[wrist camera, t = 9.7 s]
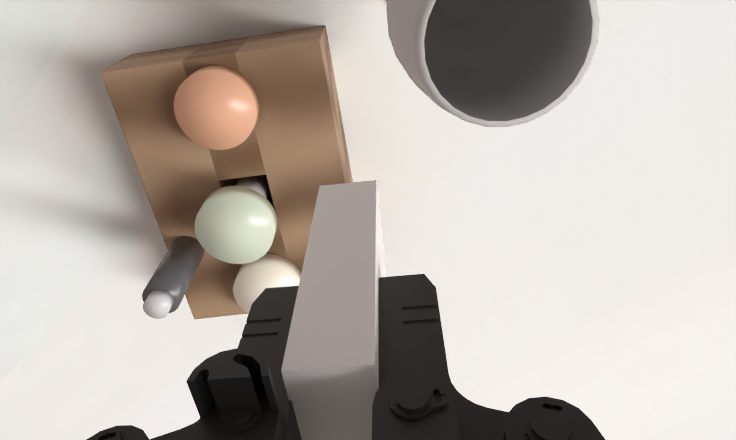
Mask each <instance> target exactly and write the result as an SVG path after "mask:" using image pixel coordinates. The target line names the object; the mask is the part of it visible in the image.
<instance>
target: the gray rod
mask: <svg viewBox="0 0 736 440" xmlns="http://www.w3.org/2000/svg"><path fill="white" fill-rule="evenodd" d="M203 256H204V248H203V247H202V246H201V244H200V243H199V241H198V240H197V239H196V238H194V237H191V236H181V237H178V238H176V239H175V240H174V242H173V243H172V245H171V246H170V248H169V250H168V251H167V253H166V255H165V256H164V258H163V260H162V261H161V263H160V265H159V266H158V268H157V270H156V271H155V273H154V275H153V276H152V278H151V280H150V281H149V283H148V285H147V286H146V288H145V290H144V291H143V295H142V297H143V301H144V304H143V309H144V311H145V313H146V314H147V315H149V316H150V317H153V318H158V319H159V318H164V317H165V316H167V314H168V313H171V312H173V311H175V310H176V309H177V308H178V307H179V305H180V303H181V301H182V299H183V297H184V294H185V292H186V290H187V288H188V286H189V284H190V282H191V280H192V278H193V276H194V274H195V272H196V270H197V268H198V266H199V264H200V262H201V260H202V258H203Z"/></svg>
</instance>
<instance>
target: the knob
mask: <svg viewBox="0 0 736 440" xmlns="http://www.w3.org/2000/svg"><path fill="white" fill-rule="evenodd" d="M300 278H301V273H300V271H299V269H298V268H297V267H296V266H295V265H294V264H293V263H292V262H291V261H289V260H288V258H287V259H286V258H284V257H282V256H279V255H274V254H265V255H264V256H263V257H261V258H260V259H258V260H256V261H254V262H250V263H246V264H242V266H241V267H240V269H239V271H238V274H237V277H236V279H235V282H234V286H233V294H234V298H235V300H236V302H237V304H238V305H239V306H240V307H241V308H242V309H243V310H244V311H245V312H247V313H248V314H249V311H250V308H251V305H252V303H253V302H254V301H255V300H256V299H257V297H258V296H259V295H260V294H261V293H262V292H263V291H264V290H265V288H275V287H288V286H299V282H300Z"/></svg>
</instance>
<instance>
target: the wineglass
mask: <svg viewBox="0 0 736 440" xmlns="http://www.w3.org/2000/svg"><path fill="white" fill-rule="evenodd" d="M387 20H388V31H389V37H390V40H391V43H392V46H393V49H394V51H395V54H396V57H397V58H398V60H399V61H400V63H401V64H402V66H403V67H404V69H405V71H406V72H407V74H408V75H409V77H410V78H411V79H412V81H413V82H414V83H415V84H416V85H417V86H418V87H419V88H420V89H421V90H422V91H423V92H424V93H425V94H426V95H427V96H428V97H429V98H430V99H431V100H433V101H434V102H435V103H436V104H437V105H438V106H440V107H441V108H443V109H444V110H446V111H448V112H449V113H451V114H453V115H455V116H457V117H459V118H460V119H462V120H464V121H467V122H470V123H474V124H478V125H482V126H486V127H508V126H513V125H517V124H522V123H527V122H529V121H531V120H533V119H535V118H538V117H540V116H542V115H544V114H546V113H548V112H549V111H550V110H552V109H553V108H554V107H556V106H557V105H559V104H560V103H561V102H563V101H564V100H565V99H566V98H567V97H568V95H569V94H570V93H571V92H572V91H573V90H574V89H575V88H576V87H577V85H578V84H579V83H580V81H581V79H582V78H583V76H584V74H585V73H586V71H587V69H588V67H589V66H590V64H591V61H592V58H593V55H594V51H595V48H596V45H597V42H598V30H599V14H598V7H597V1H596V0H388V1H387Z"/></svg>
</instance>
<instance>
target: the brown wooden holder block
mask: <svg viewBox="0 0 736 440" xmlns="http://www.w3.org/2000/svg"><path fill="white" fill-rule="evenodd" d="M214 65H216V66H224V67H228V68H231V69H233V70H235V71H237V72H238V73H240V74H241V75H243V76H244V77H245V78H246V79H247V80H248V81H249V82H250V83H251V85H252V86H253V88H254V89H255V91H256V94H257V96H258V100H259V108H260V110H259V117H258V120H257V123H256V125H255V126H254V128H253V130H252V132H251V134H250V135H249V137H248V138H247V139H246V140H245V141H244V142H243V143H241V144H240V145H238V146H236V147H234V148H231V149H226V150H214V149H209V148H206V147H203V146H201V145H199V144H197V143H195V142H194V141H193V140H191V139H190V138H189V137H188V136H187V135H186V134H185V133H184V132H183V131H182V129H181V128H180V126H179V124H178V122H177V120H176V117H175V113H174V98H175V94H176V92H177V90H178V88H179V86H180V85H181V84H182V83H183V81H184V80H186V79H187V78H188V77H189V76H190V75H191V74H192V73H194V72H195V71H197V70H198V69H200V68H203V67H207V66H214ZM101 75H102V78H103V80H104V83H105V85H106V88H107V91H108V93H109V96H110V99H111V101H112V104H113V106H114V109H115V112H116V114H117V117H118V120H119V122H120V125H121V127H122V130H123V133H124V135H125V138H126V141H127V143H128V146H129V148H130V151H131V154H132V156H133V159H134V162H135V164H136V167H137V170H138V172H139V175H140V177H141V180H142V183H143V185H144V188H145V191H146V193H147V196H148V198H149V201H150V204H151V206H152V209H153V212H154V214H155V217H156V219H157V222H158V225H159V227H160V230H161V233H162V235H163V238H164V241H165V243H166V246H167V248H168V250H169V248H170V246H171V245H172V243H173V242H174V240H175V239H176V238H178V237H181V236H191V237H194V238H196V239H197V236H196V233H195V219H196V216H197V214H198V212H199V210H200V209H201V207H202V205H203V203H204V202H205V200H206V199H207V197H208V196H209V195H210V194H211V193H213V192H214V191H216V190H218V189H220V188H223V187H227V186H236V184H237V182H238V180H239V179H240V178H242V177H250V176H257V175H265V174H266V176H267V180H268V184H269V188H270V189H269V194H268V197H267V200H268V201H269V202H270V203H271V205H272V206H273V208H274V210H275V213H276V217H277V229H276V232H275V236H274V239H273V242H272V245H271V247H270V249H269V250H268V252H267V253H266V254H274V255H279V256H282V257H284V258H286V259H287V258H288V260H289V261H291V262H292V263H293V264H294V265H295V266H296V267H297V268H298V269H299V271H300V273H302V268H303V263H304V258H305V253H306V249H307V244H308V239H309V234H310V229H311V225H312V220H313V215H314V210H315V205H316V201H317V196H318V191H319V186H321V185H332V184H343V183H353V182H352V176H351V170H350V165H349V159H348V153H347V147H346V141H345V136H344V130H343V124H342V118H341V113H340V107H339V101H338V95H337V90H336V84H335V78H334V72H333V66H332V61H331V55H330V49H329V43H328V38H327V32H326V26H320V27H313V28H307V29H300V30H293V31H287V32H280V33H273V34H267V35H260V36H253V37H246V38H240V39H233V40H226V41H220V42H213V43H206V44H200V45H193V46H186V47H180V48H173V49H166V50H160V51H153V52H146V53H139V54H133V55H130V56H128V57H126V58H125V59H123V60H121V61H120V62H118V63H116V64H115V65H113V66H111V67H109V68H108V69H106V70H104V71H103V72H101ZM197 240H198V239H197ZM241 266H242V264H232V263H227V262H224V261H221V260H219V259H217V258H215V257H213V256H212V255H210V254H209V253H208V252H207V251H206V250H205V249H204V256H203V258H202V260H201V262H200V264H199V266H198V268H197V270H196V272H195V274H194V276H193V278H192V280H191V282H190V284H189V286H188V288H187V290H186V292H185V296H186V298H187V301H188V304H189V306H190V309H191V312H192V314H193V317H194V319H201V318H210V317H219V316H228V315H237V314H246V313H247V312H245V311H244V310H243V309H242V308H241V307H240V306H239V305H238V304H237V302H236V300H235V298H234V294H233V286H234V282H235V279H236V277H237V274H238V271H239V269H240V267H241Z"/></svg>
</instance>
